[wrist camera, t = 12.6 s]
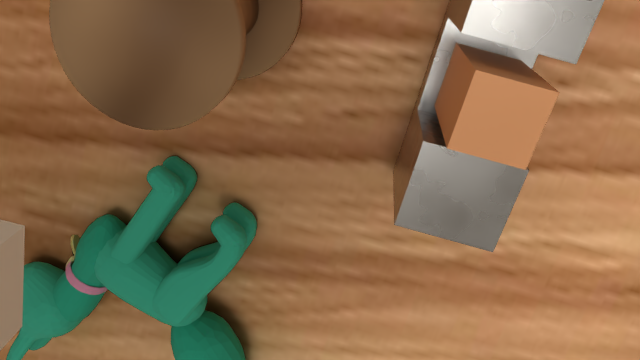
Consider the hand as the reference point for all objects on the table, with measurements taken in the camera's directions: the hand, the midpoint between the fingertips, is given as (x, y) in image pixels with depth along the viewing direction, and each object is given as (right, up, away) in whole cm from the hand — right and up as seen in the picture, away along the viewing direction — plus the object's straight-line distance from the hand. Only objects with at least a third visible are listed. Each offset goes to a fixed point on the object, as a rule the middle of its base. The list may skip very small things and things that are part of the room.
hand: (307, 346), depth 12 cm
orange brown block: (+9, +9, +17) cm, 21 cm away
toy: (-9, -5, +28) cm, 30 cm away
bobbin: (-5, +13, +18) cm, 23 cm away
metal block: (+9, +10, +18) cm, 23 cm away
